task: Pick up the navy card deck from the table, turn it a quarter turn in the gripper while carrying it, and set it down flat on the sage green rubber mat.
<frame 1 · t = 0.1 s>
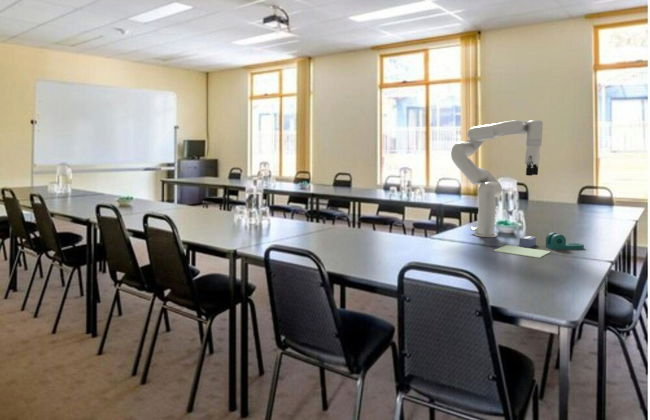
hand: (531, 175, 256), 37 cm above the table, tool pointing down, fingers open, 9 cm apart
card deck: (527, 245, 249), on the table
mat: (521, 251, 233), on the table
bracket: (565, 248, 243), on the table
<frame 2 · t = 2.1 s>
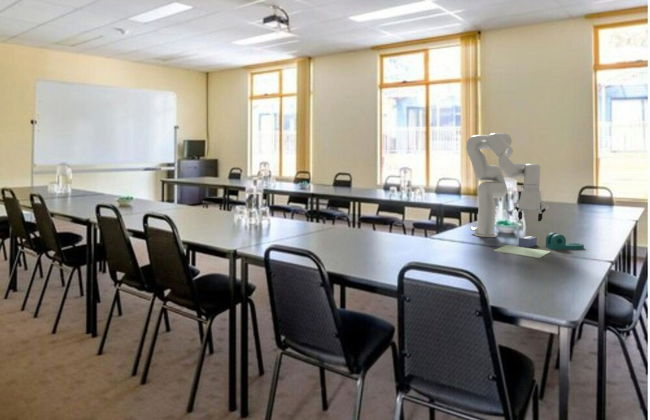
hand: (529, 220, 247), 14 cm above the table, tool pointing down, fingers open, 9 cm apart
nothing on the table moved.
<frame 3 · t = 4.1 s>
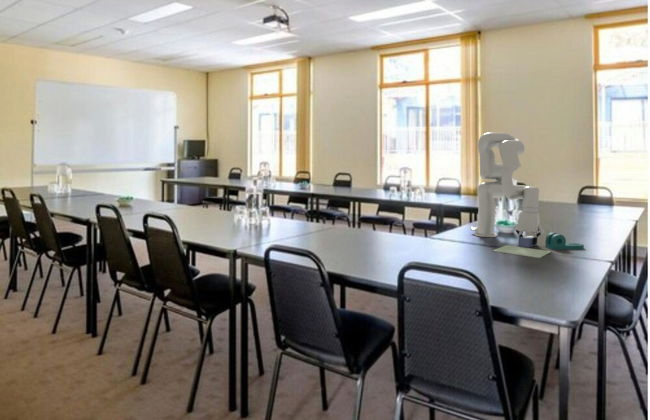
hand: (527, 243, 249), 1 cm above the table, tool pointing down, fingers closed on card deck, 6 cm apart
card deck: (527, 245, 249), on the table, touching gripper
everything else where it was.
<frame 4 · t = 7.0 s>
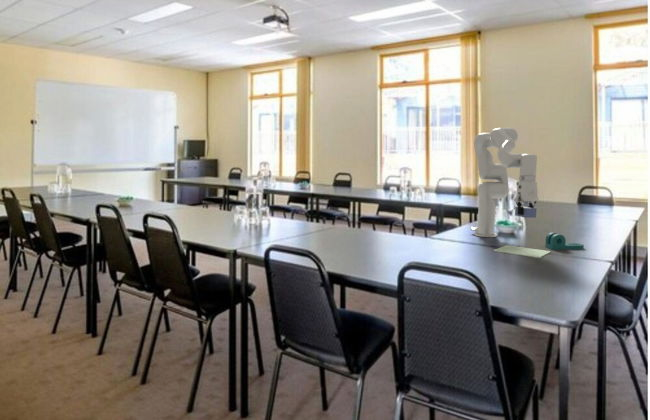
hand: (525, 214, 237), 18 cm above the table, tool pointing down, fingers closed on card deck, 6 cm apart
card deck: (525, 216, 237), point 17 cm above the table, touching gripper
everything else where it was.
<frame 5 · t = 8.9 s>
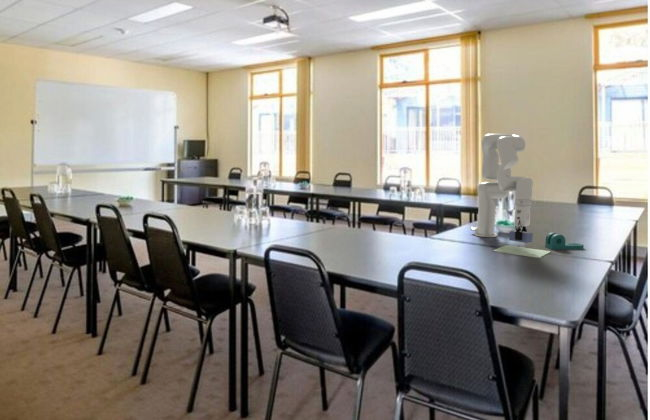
hand: (520, 238, 233), 6 cm above the table, tool pointing down, fingers closed on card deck, 6 cm apart
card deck: (520, 240, 233), point 5 cm above the table, touching gripper
everything else where it was.
when the fingers open (2 cm above the table, at t = 10.3 s): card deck stays where it is, resting on mat.
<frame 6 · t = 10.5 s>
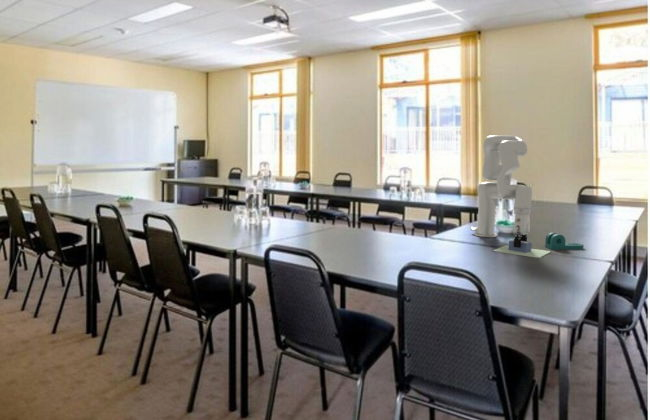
hand: (520, 245, 234), 3 cm above the table, tool pointing down, fingers open, 8 cm apart
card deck: (519, 250, 234), resting on mat
everything else where it was.
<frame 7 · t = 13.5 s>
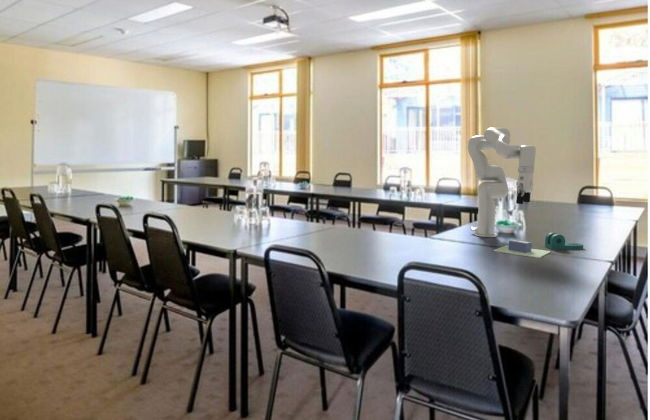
hand: (523, 202, 243), 23 cm above the table, tool pointing down, fingers open, 9 cm apart
nothing on the table moved.
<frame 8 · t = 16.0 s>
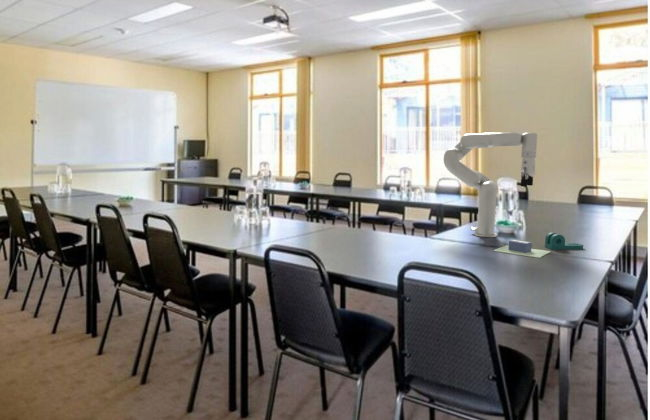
hand: (526, 185, 264), 30 cm above the table, tool pointing down, fingers open, 9 cm apart
nothing on the table moved.
at the end: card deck inside the target area on the mat (1.1 cm from its centre), point 0.4 cm above the mat's base; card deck tilted 0°; the gripper is holding nothing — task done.
